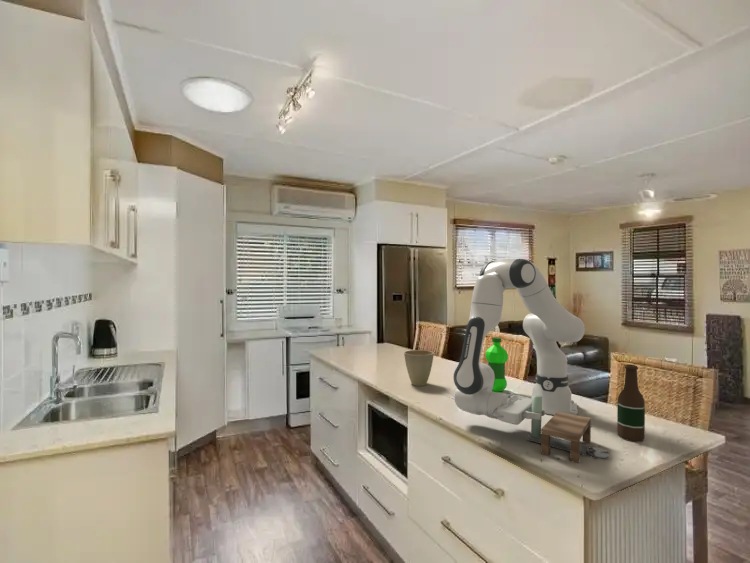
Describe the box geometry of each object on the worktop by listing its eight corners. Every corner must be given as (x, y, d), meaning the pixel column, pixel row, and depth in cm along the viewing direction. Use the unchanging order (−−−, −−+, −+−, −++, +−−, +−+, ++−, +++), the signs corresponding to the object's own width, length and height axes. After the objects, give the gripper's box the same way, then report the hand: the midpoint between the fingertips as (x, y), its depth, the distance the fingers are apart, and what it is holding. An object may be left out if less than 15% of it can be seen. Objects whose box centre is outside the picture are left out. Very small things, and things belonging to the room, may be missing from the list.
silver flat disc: (589, 450, 121) (589, 445, 121) (610, 455, 117) (610, 450, 117) (585, 456, 117) (585, 451, 117) (606, 461, 113) (606, 457, 113)
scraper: (526, 439, 127) (528, 396, 127) (532, 434, 132) (533, 392, 132) (585, 455, 117) (587, 409, 116) (589, 449, 121) (590, 404, 121)
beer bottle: (614, 431, 136) (615, 362, 136) (641, 435, 133) (641, 364, 133) (619, 440, 129) (620, 366, 129) (647, 443, 126) (648, 368, 126)
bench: (557, 433, 134) (557, 411, 134) (590, 441, 127) (590, 418, 127) (541, 453, 118) (541, 428, 118) (578, 463, 112) (578, 436, 112)
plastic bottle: (482, 387, 192) (482, 336, 192) (503, 387, 192) (503, 336, 193) (488, 393, 182) (489, 339, 182) (511, 393, 182) (511, 339, 182)
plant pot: (418, 378, 209) (418, 348, 209) (439, 384, 197) (440, 352, 197) (397, 383, 199) (397, 351, 199) (418, 389, 188) (418, 356, 188)
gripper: (488, 404, 127) (533, 413, 119) (510, 390, 143) (550, 397, 135) (488, 423, 127) (533, 434, 119) (510, 408, 143) (550, 416, 135)
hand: (542, 414), depth 127 cm, fingers closed on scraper, 3 cm apart
